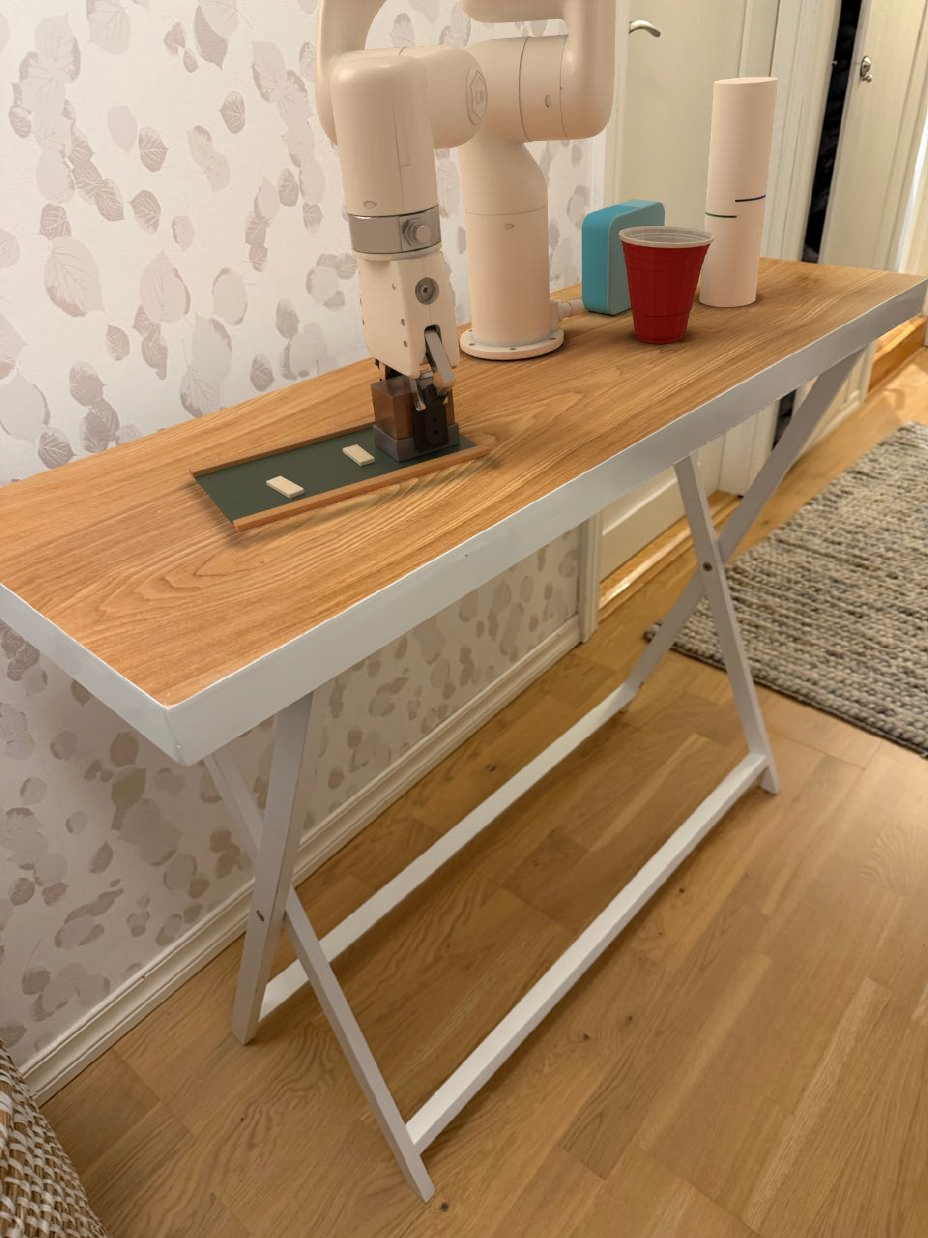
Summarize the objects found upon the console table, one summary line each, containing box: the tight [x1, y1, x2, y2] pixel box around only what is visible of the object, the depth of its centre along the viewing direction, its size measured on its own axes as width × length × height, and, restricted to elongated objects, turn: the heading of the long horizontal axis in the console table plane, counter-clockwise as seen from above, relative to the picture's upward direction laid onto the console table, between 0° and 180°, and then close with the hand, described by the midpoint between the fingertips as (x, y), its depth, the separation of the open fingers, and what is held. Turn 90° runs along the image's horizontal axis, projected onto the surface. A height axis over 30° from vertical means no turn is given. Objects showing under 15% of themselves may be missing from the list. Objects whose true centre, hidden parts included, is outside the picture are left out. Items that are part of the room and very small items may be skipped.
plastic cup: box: [619, 225, 715, 345], centre depth 108 cm, size 11×11×12 cm
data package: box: [581, 198, 666, 316], centre depth 120 cm, size 12×4×12 cm, turn 136°
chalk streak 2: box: [343, 444, 375, 466], centre depth 85 cm, size 2×4×1 cm, turn 30°
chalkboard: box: [188, 415, 491, 533], centre depth 85 cm, size 24×14×2 cm, turn 120°
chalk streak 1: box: [266, 476, 305, 498], centre depth 81 cm, size 2×4×1 cm, turn 40°
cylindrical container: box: [698, 76, 779, 308], centre depth 115 cm, size 7×7×25 cm
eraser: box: [370, 368, 461, 462], centre depth 85 cm, size 5×6×6 cm
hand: (417, 435), depth 86 cm, fingers closed on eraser, 5 cm apart
